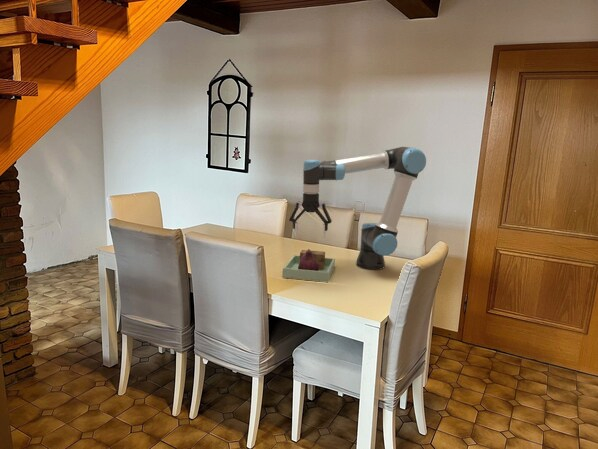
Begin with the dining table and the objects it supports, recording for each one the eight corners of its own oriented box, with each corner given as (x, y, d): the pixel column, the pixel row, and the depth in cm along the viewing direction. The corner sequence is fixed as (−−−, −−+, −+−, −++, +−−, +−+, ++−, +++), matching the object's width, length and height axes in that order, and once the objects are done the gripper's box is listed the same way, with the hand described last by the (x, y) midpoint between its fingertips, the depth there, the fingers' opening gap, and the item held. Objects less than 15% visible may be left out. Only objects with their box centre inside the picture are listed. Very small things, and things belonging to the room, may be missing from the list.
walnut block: (324, 266, 239) (325, 251, 237) (322, 270, 233) (323, 254, 232) (301, 264, 241) (302, 249, 240) (299, 267, 236) (300, 252, 234)
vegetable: (315, 284, 222) (319, 257, 215) (294, 279, 223) (298, 253, 216) (319, 272, 231) (323, 247, 224) (299, 268, 232) (303, 242, 225)
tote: (334, 267, 240) (335, 258, 239) (327, 282, 217) (328, 272, 216) (293, 264, 244) (293, 254, 243) (282, 278, 221) (282, 268, 220)
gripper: (338, 192, 219) (336, 236, 223) (287, 190, 224) (286, 233, 228) (336, 195, 212) (334, 239, 216) (283, 192, 216) (283, 236, 221)
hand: (310, 236), depth 222 cm, fingers open, 13 cm apart
